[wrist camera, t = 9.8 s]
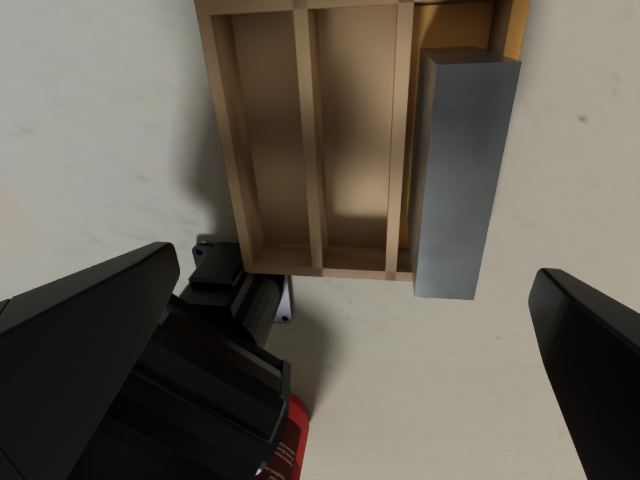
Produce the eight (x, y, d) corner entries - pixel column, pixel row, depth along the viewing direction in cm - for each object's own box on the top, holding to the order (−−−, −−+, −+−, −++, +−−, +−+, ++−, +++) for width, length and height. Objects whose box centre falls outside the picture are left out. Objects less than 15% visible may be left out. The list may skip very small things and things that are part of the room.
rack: (463, 255, 23) (473, 285, 20) (259, 247, 25) (244, 273, 22) (511, -19, 16) (535, -26, 13) (221, 1, 18) (192, -2, 15)
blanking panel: (449, 221, 21) (473, 299, 15) (407, 220, 22) (414, 296, 16) (474, 46, 17) (521, 61, 11) (419, 48, 17) (437, 65, 11)
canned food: (247, 437, 37) (201, 576, 28) (218, 383, 34) (153, 524, 24) (320, 436, 35) (297, 587, 26) (297, 380, 32) (260, 531, 22)
